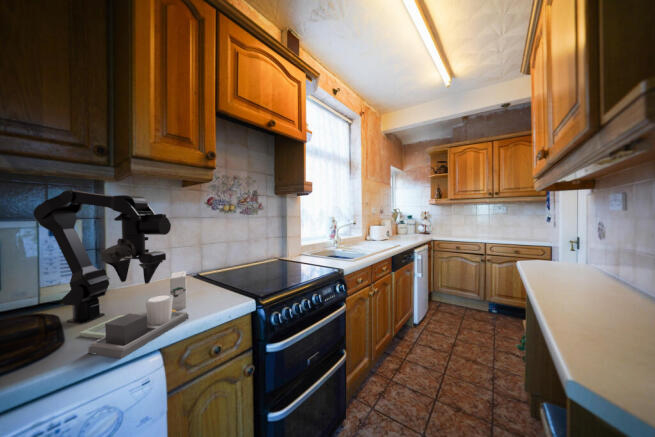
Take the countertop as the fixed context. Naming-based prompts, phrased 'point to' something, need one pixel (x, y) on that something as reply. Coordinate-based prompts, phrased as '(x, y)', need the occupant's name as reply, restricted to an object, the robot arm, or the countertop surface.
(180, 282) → the ink box
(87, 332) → the tray rim
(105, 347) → the grey divided tray
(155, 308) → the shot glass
